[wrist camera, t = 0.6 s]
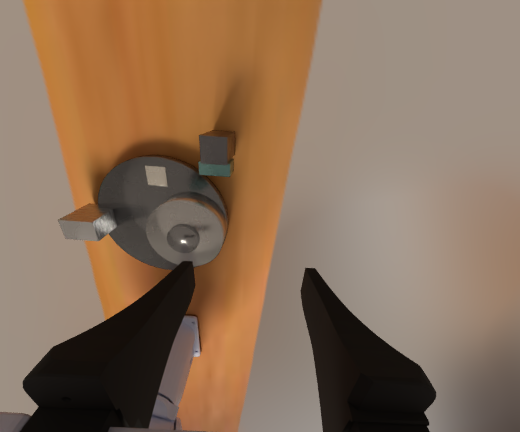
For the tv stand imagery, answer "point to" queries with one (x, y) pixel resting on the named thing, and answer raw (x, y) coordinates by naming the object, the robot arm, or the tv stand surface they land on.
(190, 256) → the cover
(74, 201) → the tv stand surface
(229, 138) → the stacked blocks
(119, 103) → the tv stand surface
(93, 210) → the turntable
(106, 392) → the robot arm
